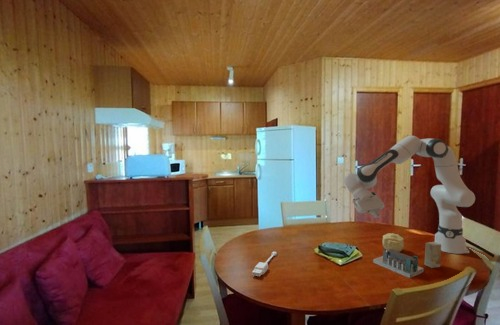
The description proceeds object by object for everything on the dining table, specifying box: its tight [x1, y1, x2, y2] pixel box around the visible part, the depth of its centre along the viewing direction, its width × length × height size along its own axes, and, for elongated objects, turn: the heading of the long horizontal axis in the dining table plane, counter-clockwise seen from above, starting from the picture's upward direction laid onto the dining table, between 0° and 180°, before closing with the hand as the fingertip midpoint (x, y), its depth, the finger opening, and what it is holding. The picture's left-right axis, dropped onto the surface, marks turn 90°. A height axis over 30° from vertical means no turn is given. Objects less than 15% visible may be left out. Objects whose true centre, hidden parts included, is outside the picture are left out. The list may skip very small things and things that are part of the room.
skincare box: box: [424, 241, 442, 269], centre depth 142 cm, size 6×4×12 cm
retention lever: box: [386, 249, 419, 265], centre depth 139 cm, size 2×4×15 cm
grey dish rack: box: [372, 248, 425, 279], centre depth 141 cm, size 20×12×8 cm, turn 29°
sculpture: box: [382, 232, 405, 253], centre depth 163 cm, size 12×12×11 cm
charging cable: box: [251, 251, 278, 277], centre depth 147 cm, size 5×32×3 cm, turn 157°
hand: (378, 217), depth 150 cm, fingers closed
